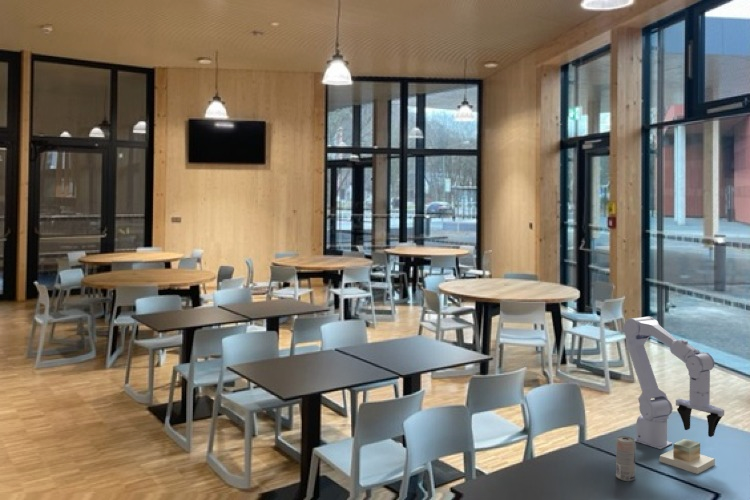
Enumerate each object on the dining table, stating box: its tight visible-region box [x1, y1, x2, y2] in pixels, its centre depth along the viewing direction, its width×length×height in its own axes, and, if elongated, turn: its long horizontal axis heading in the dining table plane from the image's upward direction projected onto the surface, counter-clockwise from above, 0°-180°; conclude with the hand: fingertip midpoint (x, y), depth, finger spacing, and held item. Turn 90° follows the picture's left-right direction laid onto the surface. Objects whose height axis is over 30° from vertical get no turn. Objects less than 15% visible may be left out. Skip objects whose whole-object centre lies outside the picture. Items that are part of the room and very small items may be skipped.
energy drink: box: [615, 435, 636, 482], centre depth 185 cm, size 5×5×12 cm
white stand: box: [659, 449, 716, 475], centre depth 195 cm, size 12×11×2 cm
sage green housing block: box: [672, 438, 701, 462], centre depth 195 cm, size 5×7×4 cm
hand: (698, 432), depth 196 cm, fingers open, 7 cm apart
